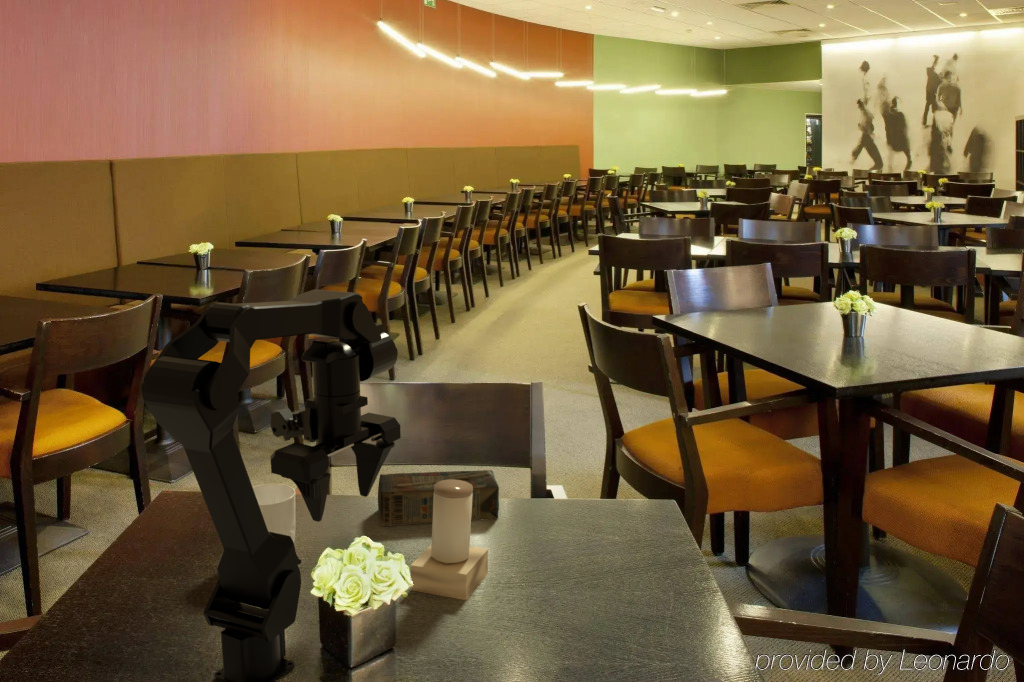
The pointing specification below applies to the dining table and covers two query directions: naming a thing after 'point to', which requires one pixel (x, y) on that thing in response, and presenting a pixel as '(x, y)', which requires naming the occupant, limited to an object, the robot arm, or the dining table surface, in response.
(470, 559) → the maple block
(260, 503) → the white cup
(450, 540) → the jar
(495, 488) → the beverage carton
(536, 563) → the dining table surface
